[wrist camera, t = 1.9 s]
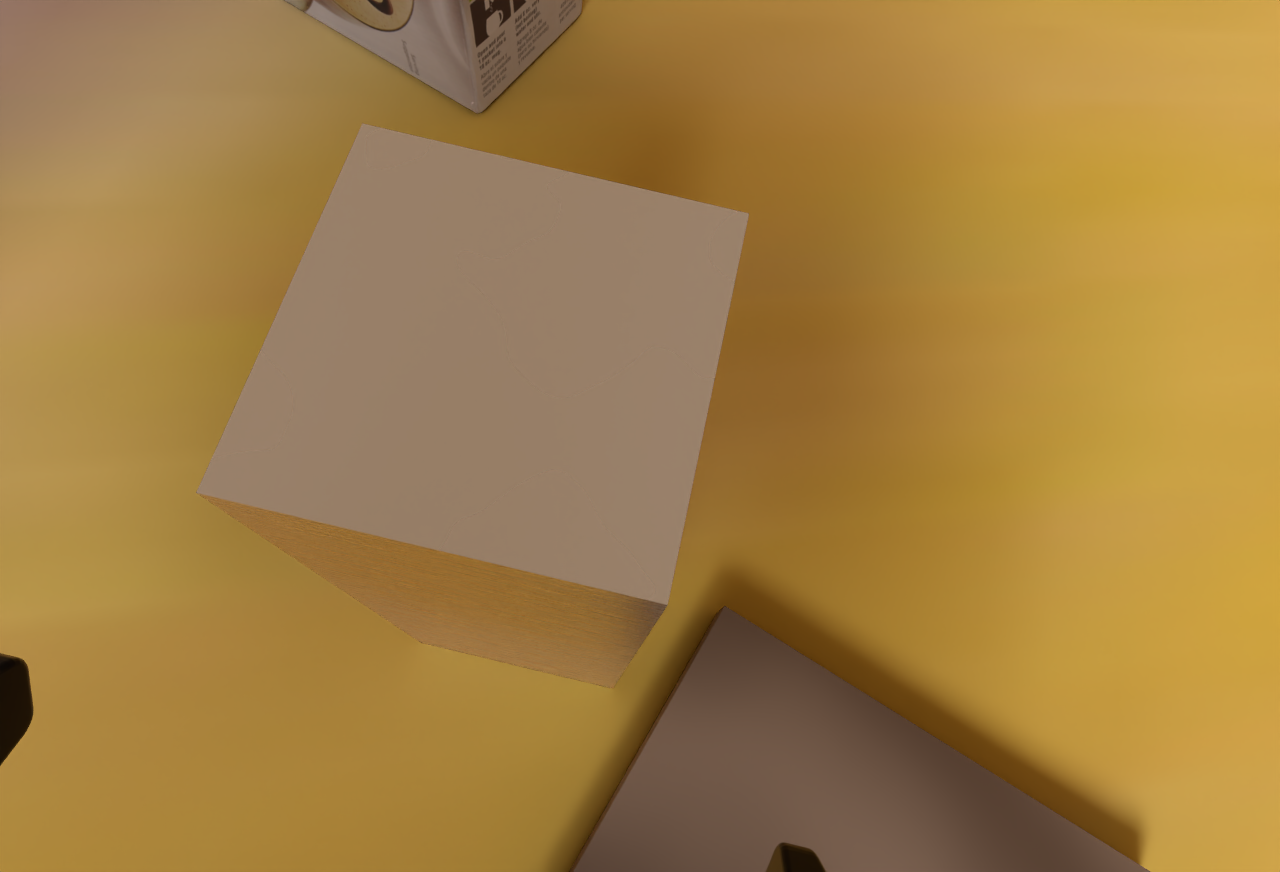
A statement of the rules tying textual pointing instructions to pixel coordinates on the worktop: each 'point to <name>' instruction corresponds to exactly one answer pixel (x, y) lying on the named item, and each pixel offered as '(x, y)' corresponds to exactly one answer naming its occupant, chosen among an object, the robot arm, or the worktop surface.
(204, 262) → the worktop surface
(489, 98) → the coffee box
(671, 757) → the plate
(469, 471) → the aluminium block
